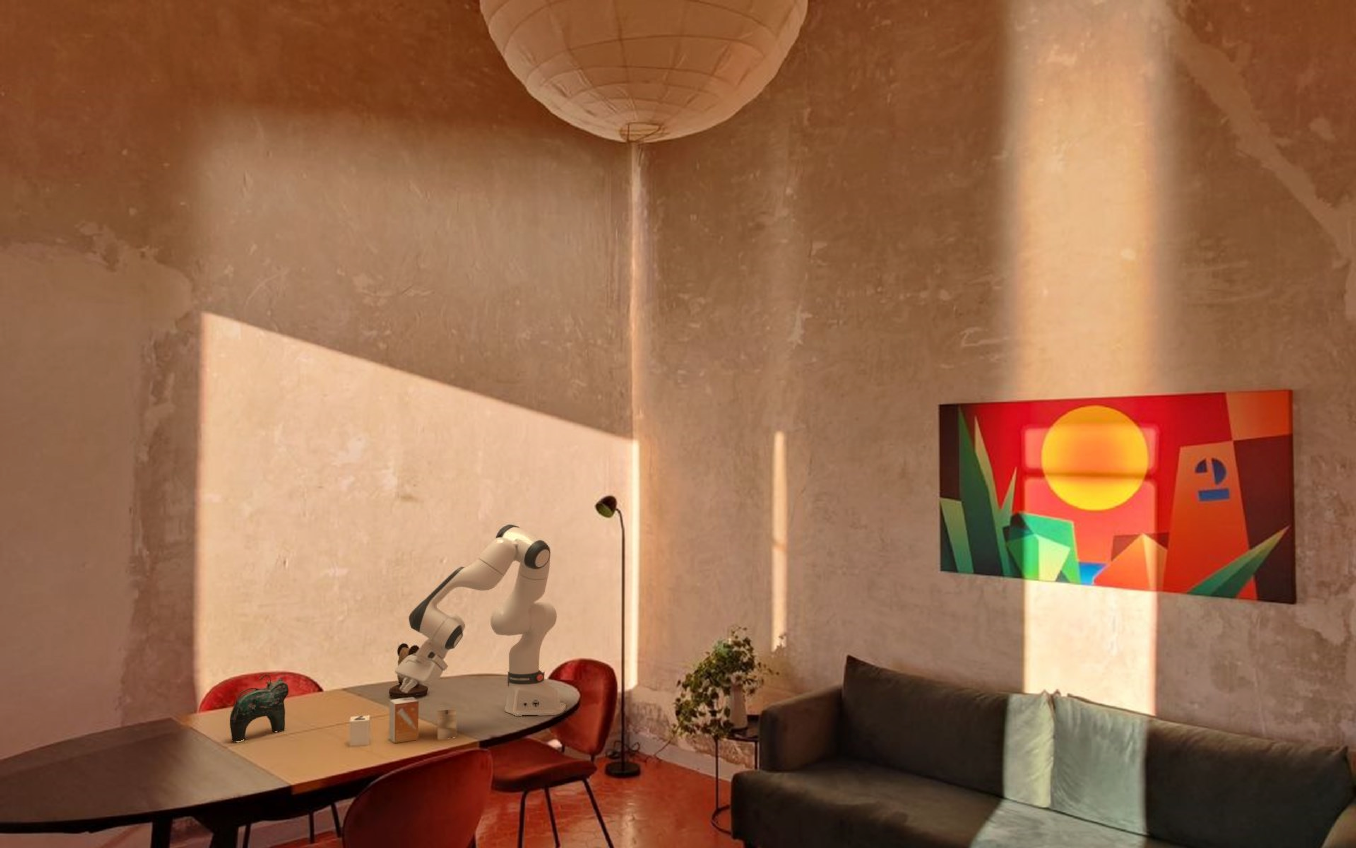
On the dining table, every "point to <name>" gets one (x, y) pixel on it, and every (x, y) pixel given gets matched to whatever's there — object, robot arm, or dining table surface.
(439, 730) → the beech block
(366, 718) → the off-white block
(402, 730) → the small box
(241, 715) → the bronze animal figurine
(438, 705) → the dining table surface
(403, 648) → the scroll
